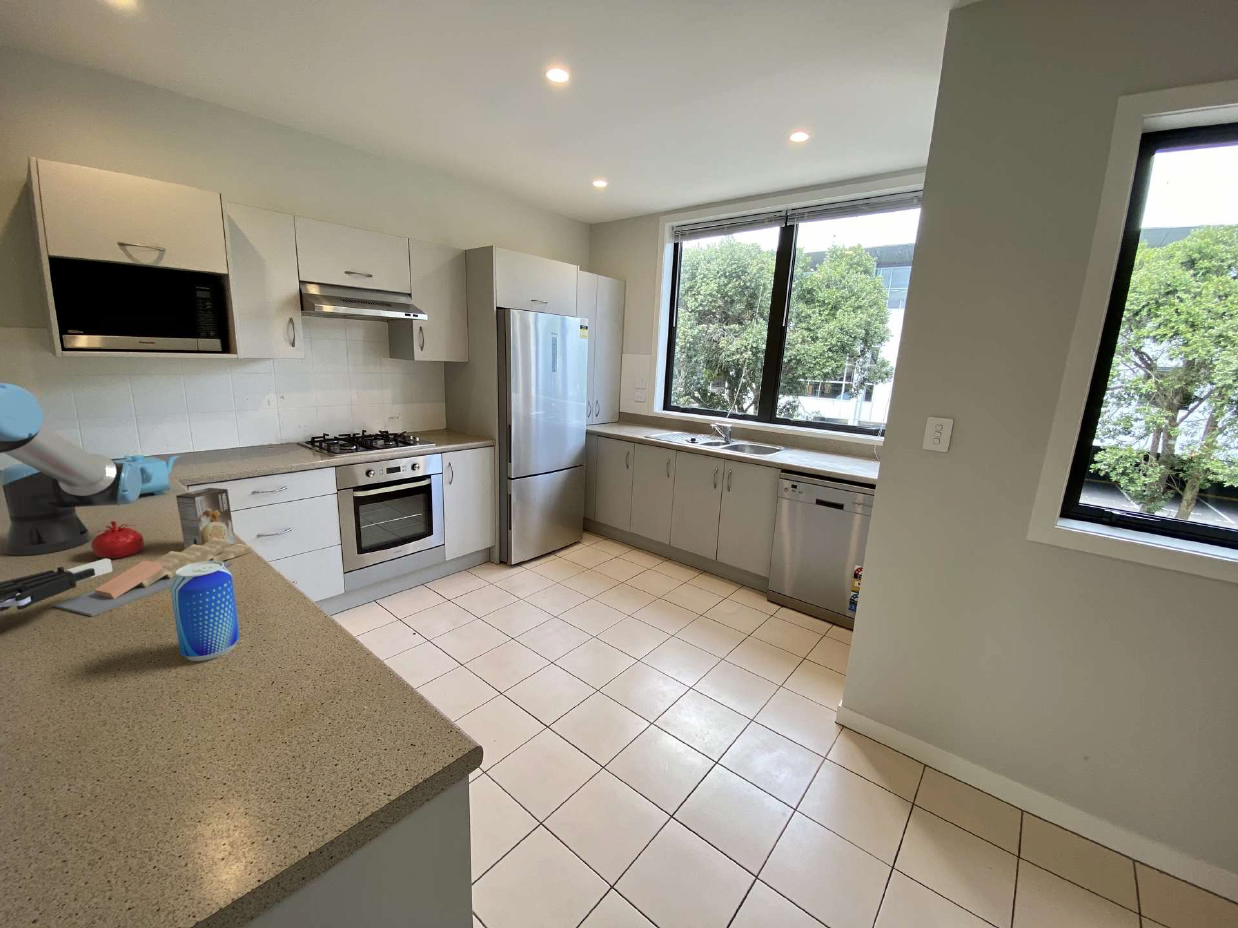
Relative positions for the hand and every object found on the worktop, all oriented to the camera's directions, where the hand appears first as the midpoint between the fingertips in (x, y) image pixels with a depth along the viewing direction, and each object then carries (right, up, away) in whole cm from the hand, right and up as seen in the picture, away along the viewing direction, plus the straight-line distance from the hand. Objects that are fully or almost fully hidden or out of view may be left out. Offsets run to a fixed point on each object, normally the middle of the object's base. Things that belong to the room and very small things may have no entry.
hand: (109, 564), depth 107 cm
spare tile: (-1, -6, 0) cm, 6 cm away
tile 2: (+1, -5, +5) cm, 7 cm away
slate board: (+2, -6, +8) cm, 10 cm away
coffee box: (-3, -2, +30) cm, 30 cm away
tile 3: (+2, -4, +10) cm, 11 cm away
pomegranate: (-21, -2, +23) cm, 31 cm away
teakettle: (-68, +10, +79) cm, 105 cm away
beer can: (+36, -12, -17) cm, 42 cm away
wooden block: (+5, -2, +19) cm, 20 cm away
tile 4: (+4, -3, +14) cm, 15 cm away
